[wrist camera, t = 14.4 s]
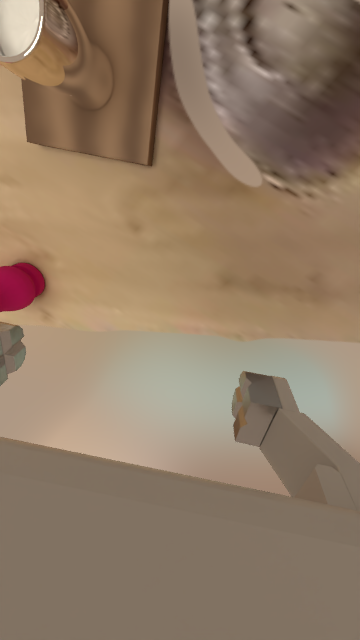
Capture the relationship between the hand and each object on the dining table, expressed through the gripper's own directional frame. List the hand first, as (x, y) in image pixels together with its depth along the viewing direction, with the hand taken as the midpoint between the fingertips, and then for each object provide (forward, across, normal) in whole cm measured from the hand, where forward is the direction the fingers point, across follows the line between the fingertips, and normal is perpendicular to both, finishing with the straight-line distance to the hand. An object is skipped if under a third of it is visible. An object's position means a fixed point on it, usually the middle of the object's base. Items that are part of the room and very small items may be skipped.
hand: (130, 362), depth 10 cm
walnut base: (+34, +15, -15) cm, 40 cm away
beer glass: (+31, +15, -15) cm, 38 cm away
